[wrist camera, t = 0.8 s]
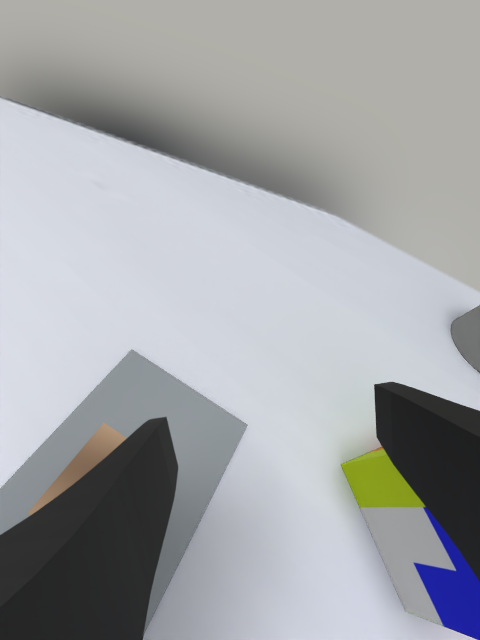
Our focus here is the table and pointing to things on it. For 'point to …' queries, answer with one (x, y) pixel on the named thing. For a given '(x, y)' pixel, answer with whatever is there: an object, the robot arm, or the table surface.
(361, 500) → the puzzle toy
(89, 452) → the walnut block
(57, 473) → the gray tile
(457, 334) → the coffee mug
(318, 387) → the table surface
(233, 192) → the table surface
